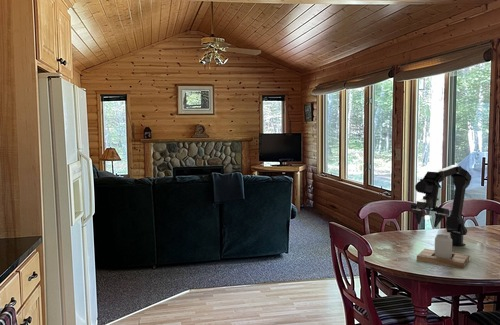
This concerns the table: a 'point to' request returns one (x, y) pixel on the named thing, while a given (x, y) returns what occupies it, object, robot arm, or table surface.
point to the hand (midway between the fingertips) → (426, 225)
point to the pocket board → (443, 259)
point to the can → (443, 246)
